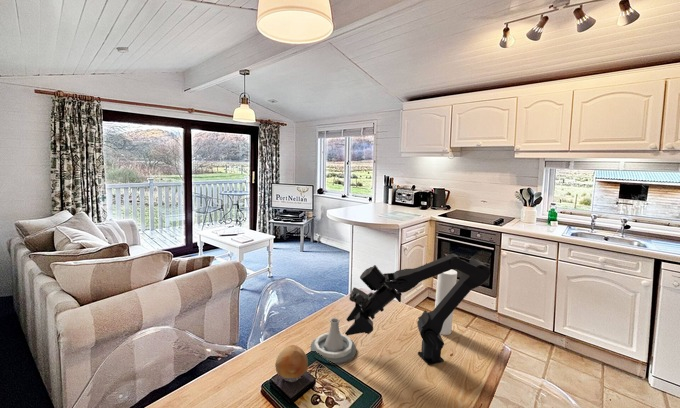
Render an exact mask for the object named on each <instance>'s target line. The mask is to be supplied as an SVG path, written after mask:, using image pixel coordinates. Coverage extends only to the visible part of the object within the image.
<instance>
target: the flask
mask: <svg viewBox="0 0 680 408" xmlns="http://www.w3.org/2000/svg"><path fill="white" fill-rule="evenodd" d="M329 321H330V327H329V328H330V329H329V332H328V333H329V334H328V337H327V339H326V341H325V344H324V346H323V348H325V349H326V350H327V351H330V352H339V351H341V350H343V347H344V343H343V340H342V337H341V334H342V333H341V331H340V326H339V325H340V324H339V323H340V321H341V320H340V319H339V318H337V317H332V318H331V319H330V320H329ZM340 333H341V334H340Z"/></svg>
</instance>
